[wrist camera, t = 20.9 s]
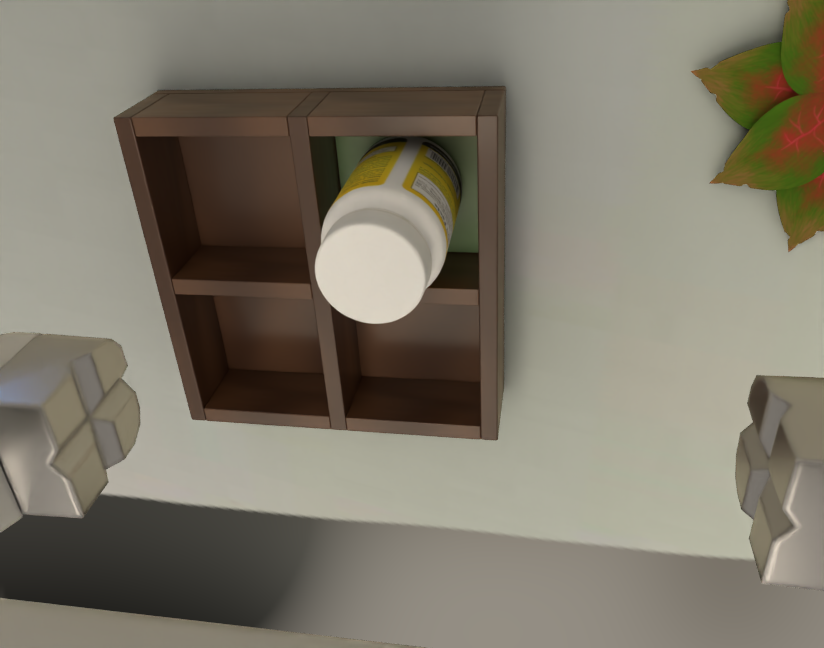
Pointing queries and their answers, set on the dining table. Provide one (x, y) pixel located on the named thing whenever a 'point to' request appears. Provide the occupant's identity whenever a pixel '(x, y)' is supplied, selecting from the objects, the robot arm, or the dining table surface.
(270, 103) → the wooden compartment tray
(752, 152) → the lily flower
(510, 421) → the dining table surface
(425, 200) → the supplement bottle
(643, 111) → the dining table surface
